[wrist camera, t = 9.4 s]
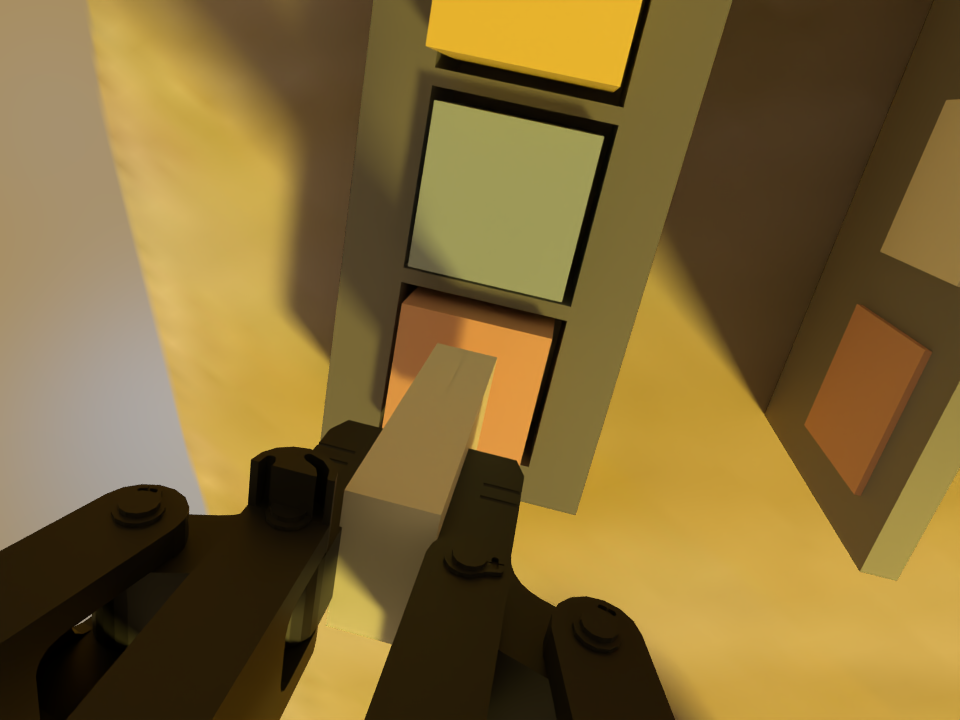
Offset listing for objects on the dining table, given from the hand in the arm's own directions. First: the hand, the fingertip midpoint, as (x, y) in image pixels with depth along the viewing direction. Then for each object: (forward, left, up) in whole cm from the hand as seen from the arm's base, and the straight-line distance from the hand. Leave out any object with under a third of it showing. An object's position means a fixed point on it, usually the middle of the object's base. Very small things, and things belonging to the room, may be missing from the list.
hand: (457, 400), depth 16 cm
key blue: (-5, 0, -5) cm, 7 cm away
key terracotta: (0, 0, -5) cm, 5 cm away
